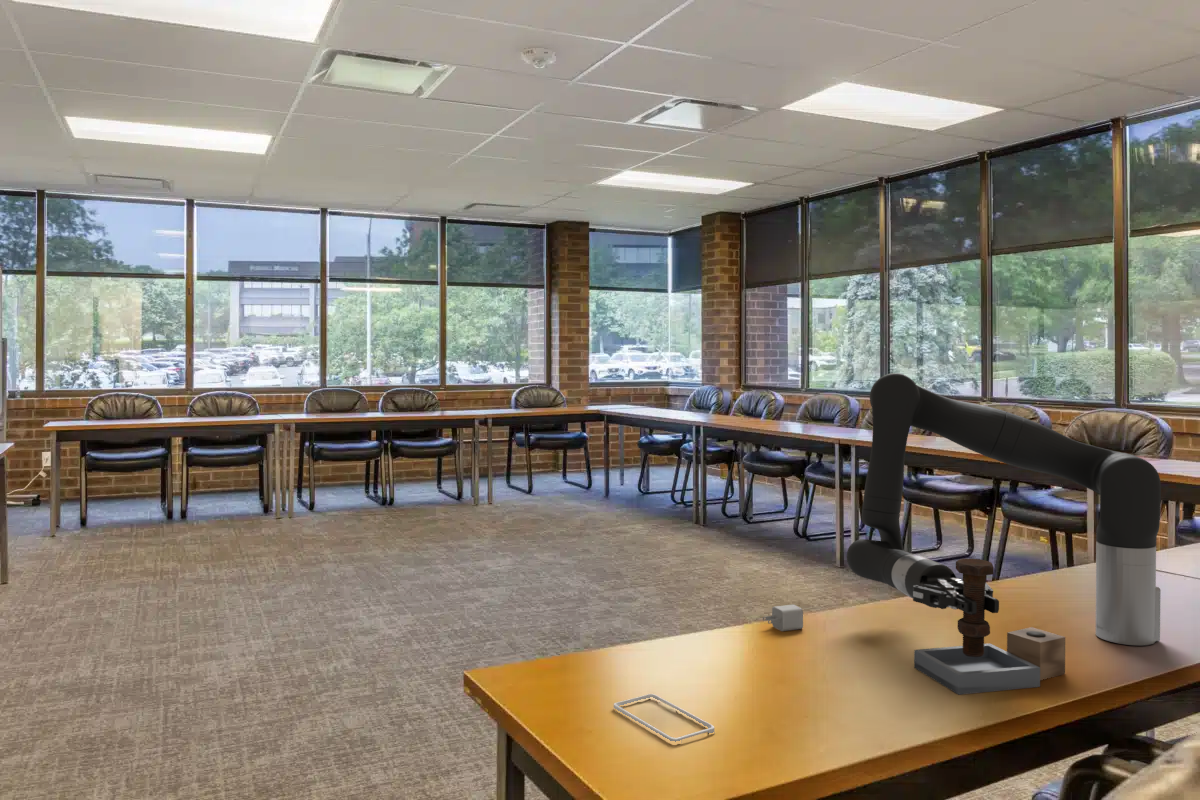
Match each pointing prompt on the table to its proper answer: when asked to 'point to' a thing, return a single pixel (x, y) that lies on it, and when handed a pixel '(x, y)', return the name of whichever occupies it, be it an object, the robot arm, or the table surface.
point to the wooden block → (1039, 650)
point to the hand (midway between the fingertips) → (985, 607)
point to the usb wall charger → (786, 617)
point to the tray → (976, 669)
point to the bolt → (974, 589)
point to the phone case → (616, 706)
